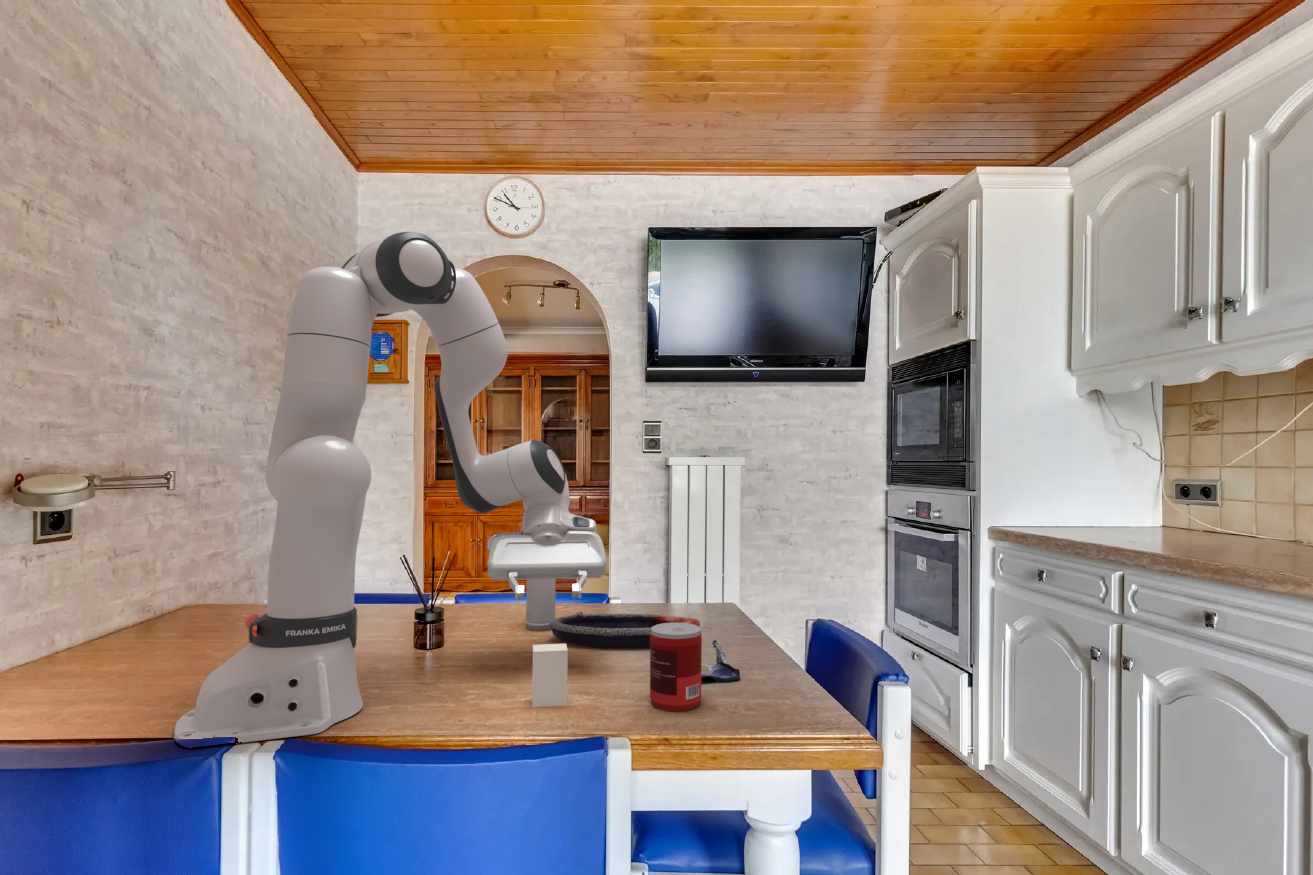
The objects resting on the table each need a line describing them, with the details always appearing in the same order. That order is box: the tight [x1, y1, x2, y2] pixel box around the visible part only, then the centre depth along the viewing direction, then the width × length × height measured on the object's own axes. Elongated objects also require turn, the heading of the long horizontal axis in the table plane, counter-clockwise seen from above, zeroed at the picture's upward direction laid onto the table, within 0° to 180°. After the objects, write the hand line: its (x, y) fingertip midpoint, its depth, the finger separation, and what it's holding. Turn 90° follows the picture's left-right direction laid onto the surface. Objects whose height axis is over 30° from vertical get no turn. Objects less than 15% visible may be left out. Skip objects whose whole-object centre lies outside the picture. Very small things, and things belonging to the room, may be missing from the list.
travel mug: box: [525, 579, 557, 632], centre depth 148 cm, size 6×7×20 cm
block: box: [531, 643, 569, 708], centre depth 100 cm, size 4×5×8 cm
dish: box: [549, 611, 701, 649], centre depth 137 cm, size 16×31×5 cm, turn 88°
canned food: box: [649, 623, 703, 712], centre depth 100 cm, size 8×8×11 cm
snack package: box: [701, 639, 741, 683], centre depth 115 cm, size 12×6×12 cm
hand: (548, 596), depth 111 cm, fingers open, 8 cm apart
